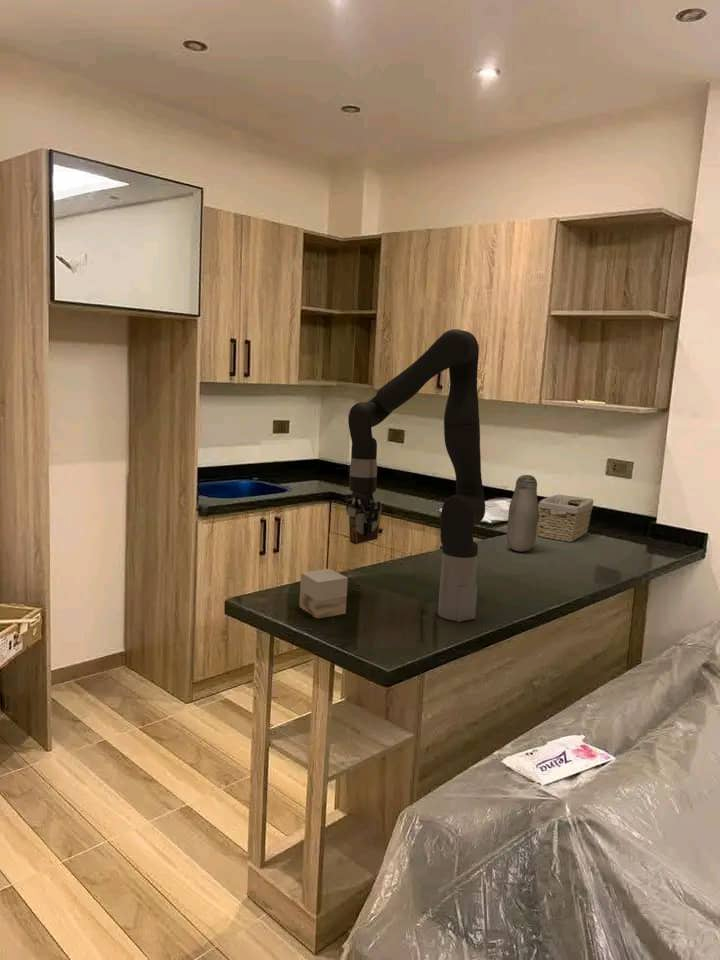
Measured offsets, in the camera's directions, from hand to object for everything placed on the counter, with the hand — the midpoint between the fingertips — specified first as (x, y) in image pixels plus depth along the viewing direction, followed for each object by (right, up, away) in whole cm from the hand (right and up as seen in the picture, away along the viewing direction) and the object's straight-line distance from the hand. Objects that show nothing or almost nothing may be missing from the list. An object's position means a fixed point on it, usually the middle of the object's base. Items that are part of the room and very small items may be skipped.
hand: (361, 533), depth 207 cm
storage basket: (+82, -8, +90) cm, 122 cm away
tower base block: (-10, -20, -11) cm, 25 cm away
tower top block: (-10, -15, -12) cm, 22 cm away
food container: (-1, -2, +1) cm, 2 cm away
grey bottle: (+58, -11, +61) cm, 85 cm away
